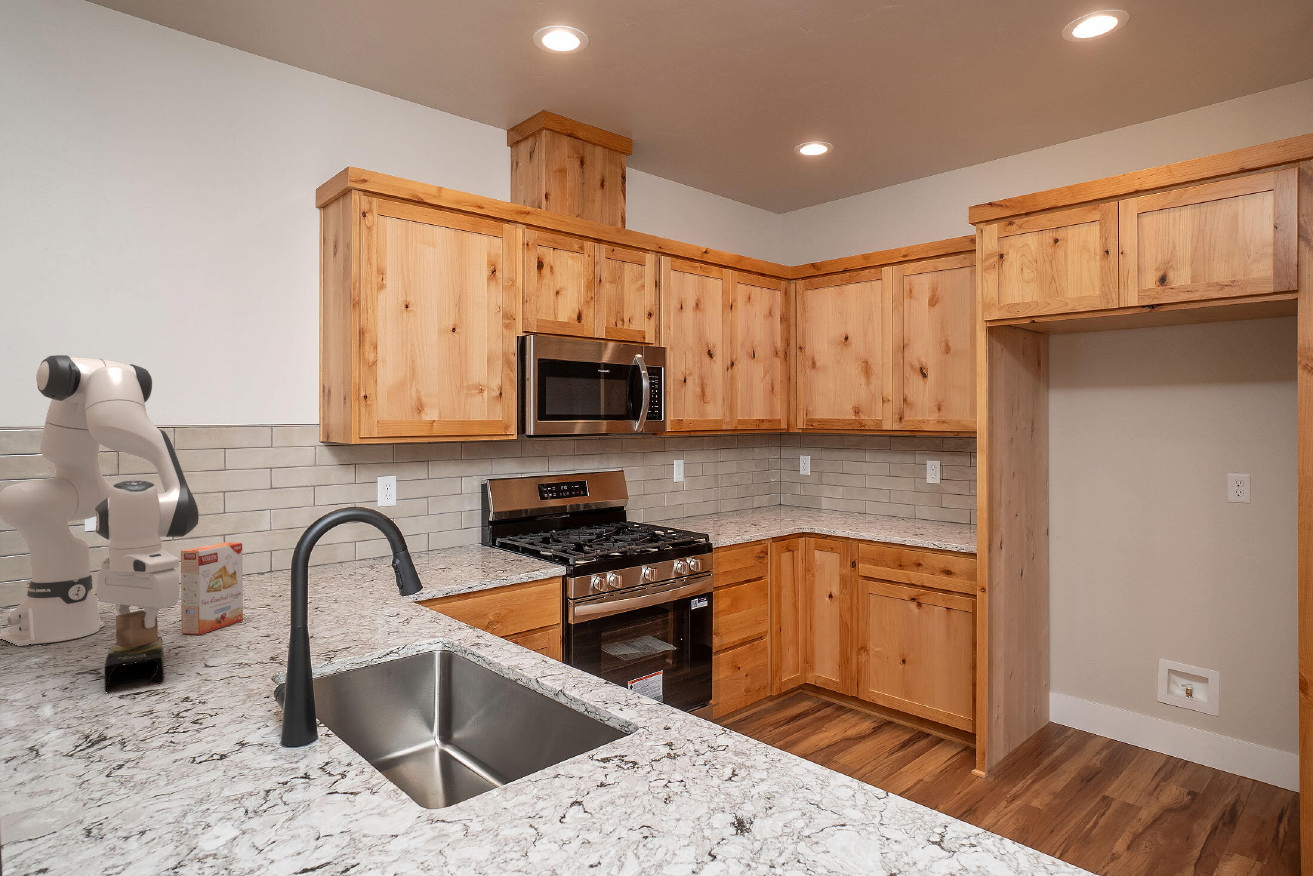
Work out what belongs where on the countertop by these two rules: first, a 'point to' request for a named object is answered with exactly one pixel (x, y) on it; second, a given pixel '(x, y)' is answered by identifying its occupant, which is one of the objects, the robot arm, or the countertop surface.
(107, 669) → the black open-ended box
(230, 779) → the countertop surface
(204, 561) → the cracker box
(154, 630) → the walnut block
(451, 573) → the countertop surface
